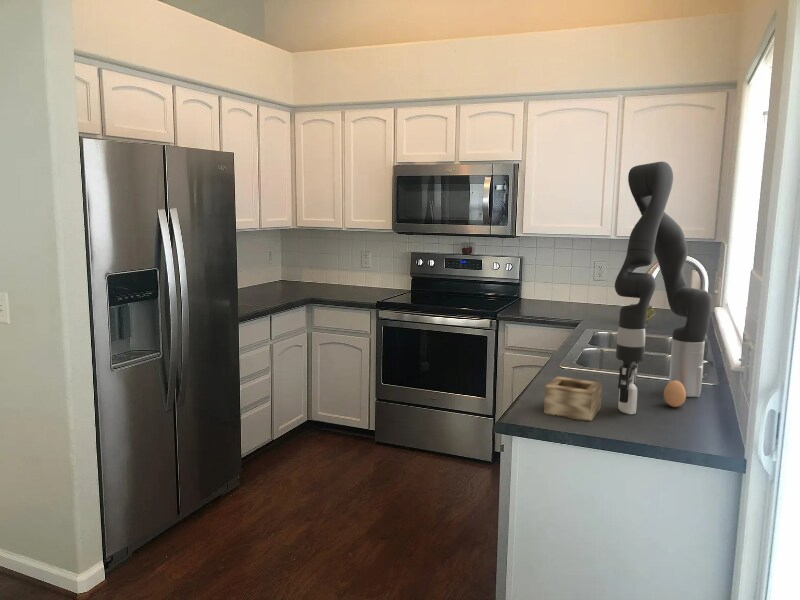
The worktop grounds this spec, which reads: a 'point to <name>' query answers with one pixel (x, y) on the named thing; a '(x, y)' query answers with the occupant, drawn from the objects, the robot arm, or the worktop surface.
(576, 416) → the box
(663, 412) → the worktop surface
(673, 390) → the egg
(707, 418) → the worktop surface
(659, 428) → the worktop surface
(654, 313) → the ceramic cup
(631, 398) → the eye dropper bottle
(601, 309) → the worktop surface
